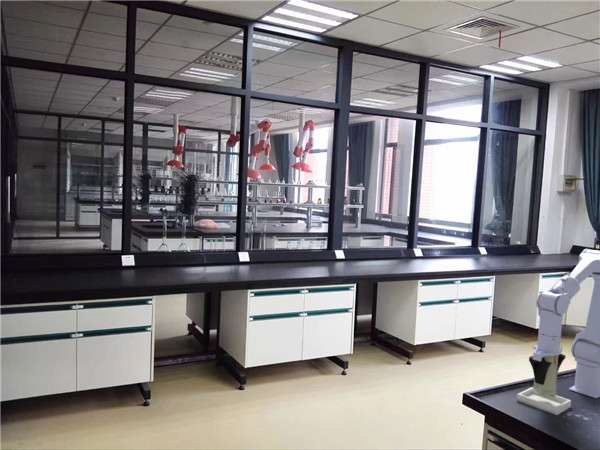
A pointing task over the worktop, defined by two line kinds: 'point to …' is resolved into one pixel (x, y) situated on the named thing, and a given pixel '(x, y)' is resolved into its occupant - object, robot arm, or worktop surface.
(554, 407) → the tray
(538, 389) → the skincare box
